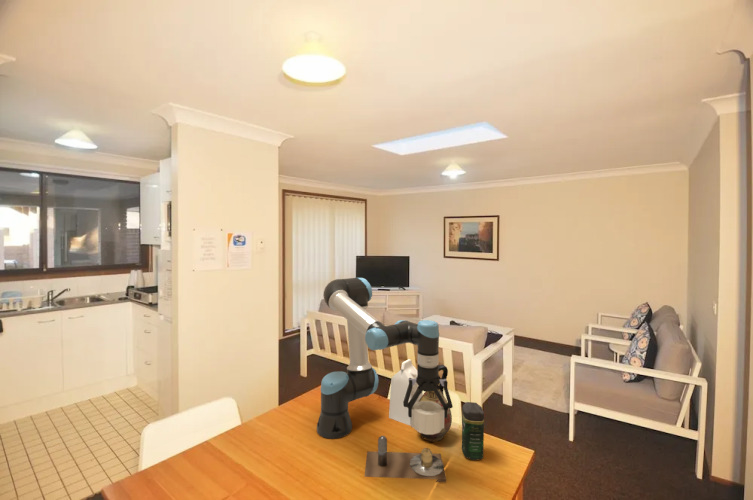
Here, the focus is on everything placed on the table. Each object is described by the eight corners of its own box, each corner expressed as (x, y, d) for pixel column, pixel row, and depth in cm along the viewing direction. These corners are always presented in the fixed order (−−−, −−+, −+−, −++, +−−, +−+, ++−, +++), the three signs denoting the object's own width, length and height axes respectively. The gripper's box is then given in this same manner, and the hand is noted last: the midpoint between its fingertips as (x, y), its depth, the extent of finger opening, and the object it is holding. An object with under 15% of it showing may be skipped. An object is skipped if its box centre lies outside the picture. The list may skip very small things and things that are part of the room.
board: (364, 479, 118) (364, 476, 118) (367, 453, 132) (367, 451, 132) (446, 482, 116) (446, 479, 116) (440, 456, 130) (440, 453, 130)
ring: (408, 429, 121) (409, 409, 121) (420, 416, 130) (420, 398, 130) (435, 437, 116) (435, 417, 116) (445, 424, 125) (445, 405, 125)
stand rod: (376, 464, 124) (376, 437, 124) (380, 459, 127) (380, 432, 126) (384, 467, 122) (384, 439, 122) (388, 462, 125) (388, 435, 125)
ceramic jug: (428, 450, 134) (429, 375, 133) (407, 431, 148) (408, 362, 147) (462, 439, 142) (463, 367, 141) (439, 421, 155) (440, 356, 155)
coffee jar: (485, 462, 127) (486, 412, 127) (463, 460, 128) (464, 411, 128) (480, 446, 137) (481, 400, 136) (460, 445, 138) (460, 399, 137)
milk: (402, 407, 168) (402, 355, 168) (423, 414, 162) (423, 360, 161) (388, 417, 159) (389, 362, 158) (410, 425, 152) (410, 367, 151)
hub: (404, 469, 122) (404, 452, 121) (417, 451, 132) (418, 435, 132) (436, 481, 116) (436, 463, 115) (448, 461, 126) (448, 445, 126)
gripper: (396, 367, 119) (396, 430, 120) (462, 369, 118) (461, 432, 119) (396, 360, 127) (395, 419, 127) (457, 361, 126) (457, 421, 126)
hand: (427, 425), depth 123 cm, fingers closed on ring, 10 cm apart
